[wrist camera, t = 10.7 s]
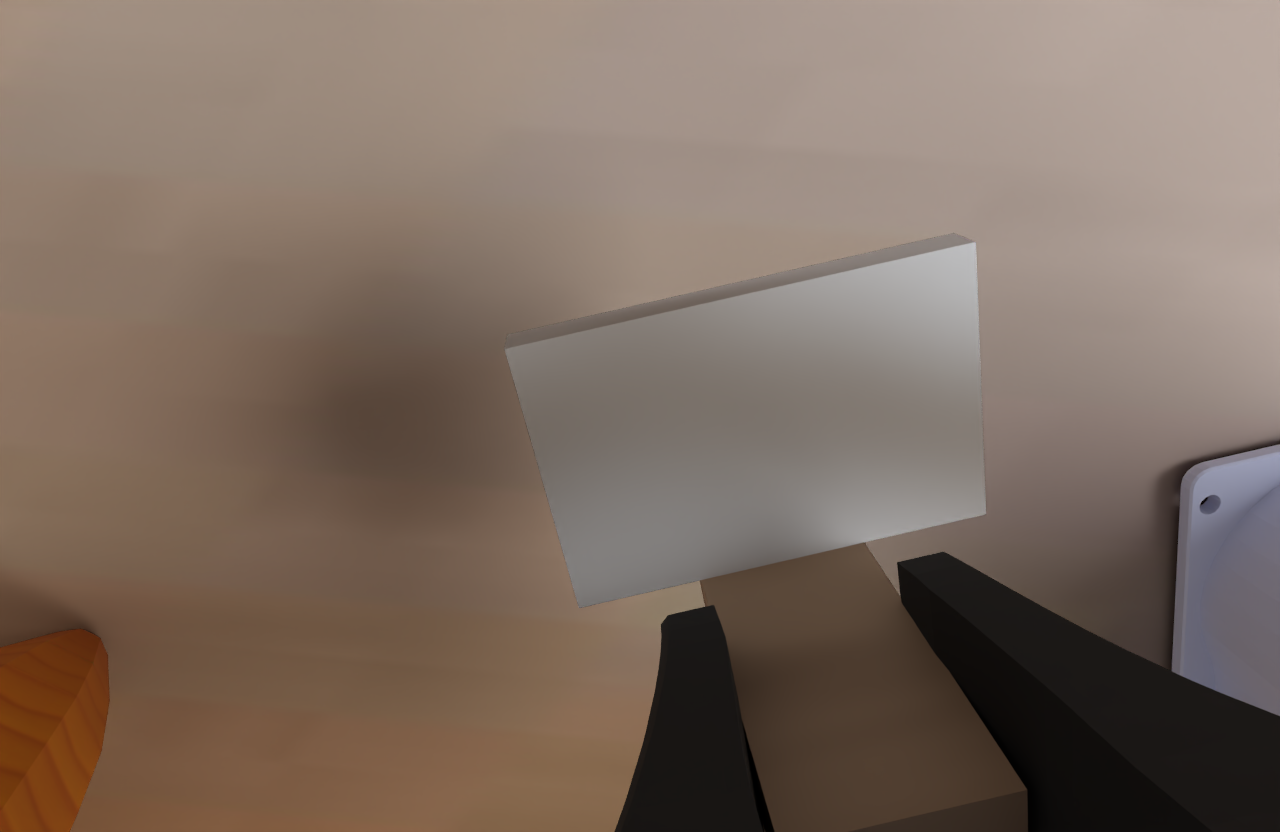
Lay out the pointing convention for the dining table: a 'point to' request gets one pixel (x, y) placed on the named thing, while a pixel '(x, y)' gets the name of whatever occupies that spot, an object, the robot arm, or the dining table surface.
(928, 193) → the dining table surface
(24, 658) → the carrot
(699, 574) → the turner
